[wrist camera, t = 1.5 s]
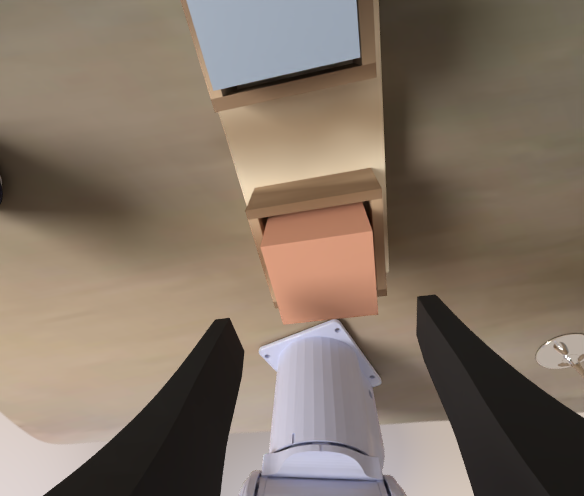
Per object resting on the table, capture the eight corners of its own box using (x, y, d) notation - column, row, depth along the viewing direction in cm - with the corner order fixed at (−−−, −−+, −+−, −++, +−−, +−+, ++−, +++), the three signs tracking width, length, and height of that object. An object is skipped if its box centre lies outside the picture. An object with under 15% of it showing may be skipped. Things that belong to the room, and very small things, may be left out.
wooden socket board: (383, 255, 22) (400, 303, 18) (274, 269, 23) (266, 318, 19) (363, -144, 12) (391, -252, 8) (173, -83, 13) (108, -148, 9)
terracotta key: (368, 276, 18) (378, 314, 15) (287, 287, 18) (283, 324, 16) (362, 201, 15) (372, 231, 13) (268, 216, 16) (260, 247, 13)
